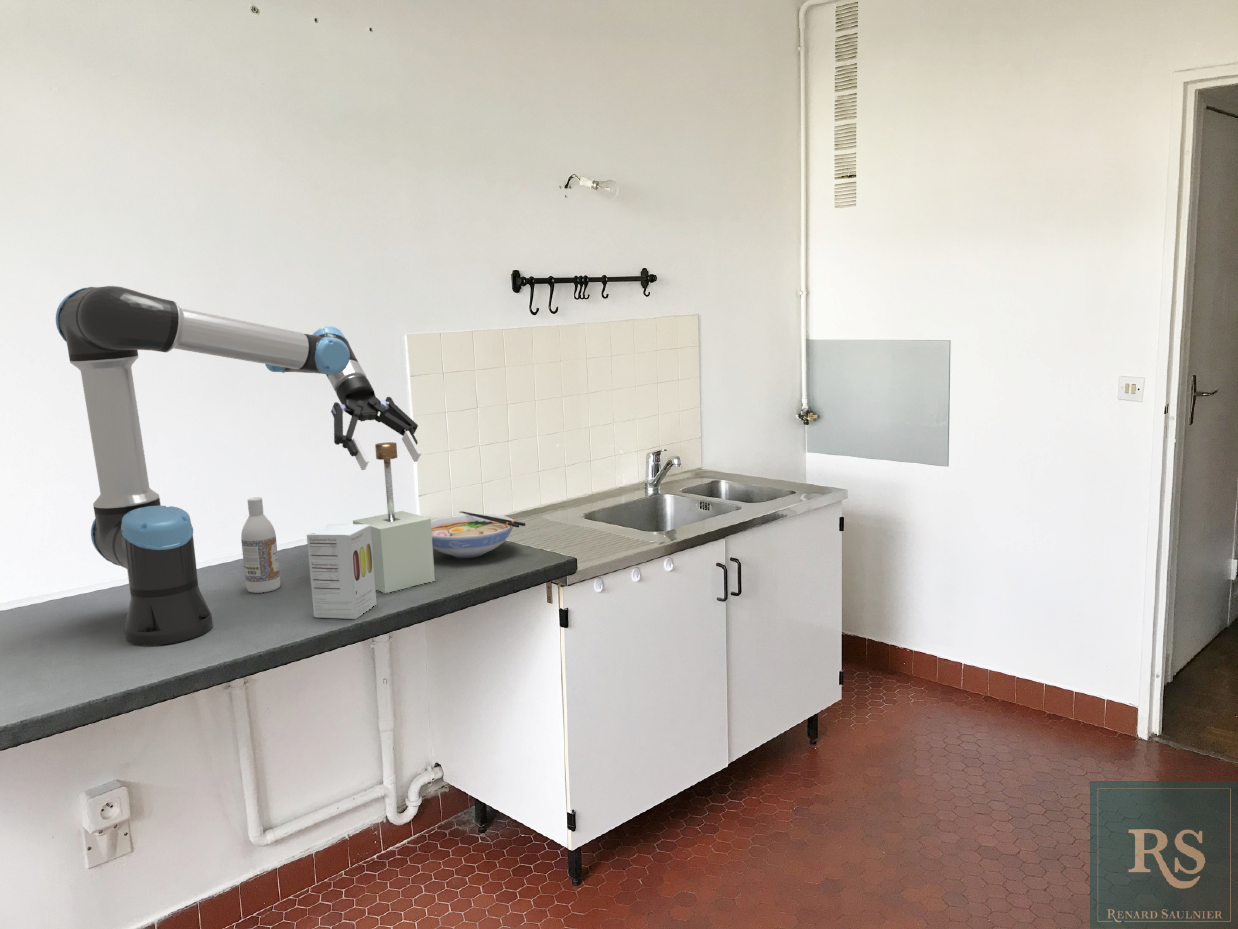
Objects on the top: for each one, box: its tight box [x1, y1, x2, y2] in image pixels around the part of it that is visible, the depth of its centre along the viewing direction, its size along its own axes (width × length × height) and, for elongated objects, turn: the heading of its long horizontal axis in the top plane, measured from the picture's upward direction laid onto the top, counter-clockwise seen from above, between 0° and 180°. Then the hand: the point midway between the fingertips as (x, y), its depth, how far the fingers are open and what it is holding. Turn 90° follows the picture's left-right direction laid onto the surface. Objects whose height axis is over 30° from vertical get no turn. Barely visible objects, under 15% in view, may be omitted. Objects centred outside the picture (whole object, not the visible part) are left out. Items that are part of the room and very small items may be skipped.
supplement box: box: [306, 523, 377, 620], centre depth 191 cm, size 10×9×17 cm
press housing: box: [352, 510, 436, 593], centre depth 210 cm, size 12×12×14 cm
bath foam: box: [240, 496, 281, 594], centre depth 208 cm, size 7×7×20 cm
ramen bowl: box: [431, 510, 526, 559], centre depth 231 cm, size 25×23×8 cm
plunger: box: [374, 441, 398, 522], centre depth 207 cm, size 9×9×19 cm
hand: (392, 461), depth 205 cm, fingers open, 12 cm apart
